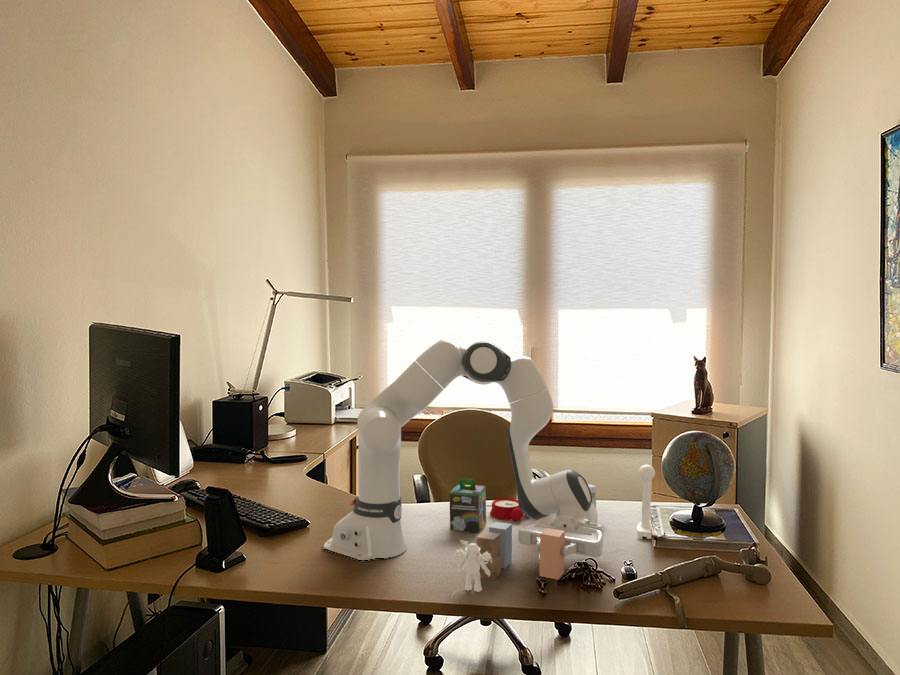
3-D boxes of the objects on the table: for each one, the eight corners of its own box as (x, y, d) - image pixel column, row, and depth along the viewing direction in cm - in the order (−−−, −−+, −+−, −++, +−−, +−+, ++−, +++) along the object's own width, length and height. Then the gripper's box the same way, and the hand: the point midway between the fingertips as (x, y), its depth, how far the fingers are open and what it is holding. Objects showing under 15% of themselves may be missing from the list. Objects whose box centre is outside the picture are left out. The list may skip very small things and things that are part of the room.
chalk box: (486, 523, 209) (486, 474, 208) (479, 533, 201) (479, 483, 200) (457, 520, 212) (457, 472, 211) (448, 530, 203) (448, 480, 202)
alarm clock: (498, 496, 225) (538, 494, 216) (502, 515, 224) (542, 514, 215) (480, 504, 217) (520, 502, 208) (484, 524, 216) (524, 523, 207)
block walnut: (476, 577, 170) (476, 536, 169) (483, 570, 174) (483, 531, 173) (493, 580, 168) (493, 539, 167) (500, 573, 172) (500, 533, 172)
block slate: (488, 565, 177) (488, 526, 177) (495, 559, 181) (495, 521, 181) (505, 568, 175) (505, 529, 175) (511, 562, 179) (511, 524, 179)
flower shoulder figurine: (452, 590, 162) (452, 540, 162) (457, 583, 166) (457, 534, 165) (490, 595, 160) (490, 544, 159) (494, 588, 164) (494, 538, 163)
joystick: (641, 526, 206) (643, 459, 205) (668, 530, 203) (669, 462, 202) (633, 538, 197) (635, 468, 195) (661, 542, 193) (662, 471, 192)
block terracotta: (539, 576, 161) (540, 533, 161) (545, 569, 166) (546, 527, 165) (558, 579, 160) (559, 536, 159) (563, 572, 164) (564, 530, 163)
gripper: (528, 513, 178) (509, 529, 166) (608, 525, 169) (594, 544, 157) (528, 537, 178) (508, 555, 166) (608, 551, 170) (593, 571, 157)
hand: (551, 550), depth 161 cm, fingers closed on block terracotta, 4 cm apart
